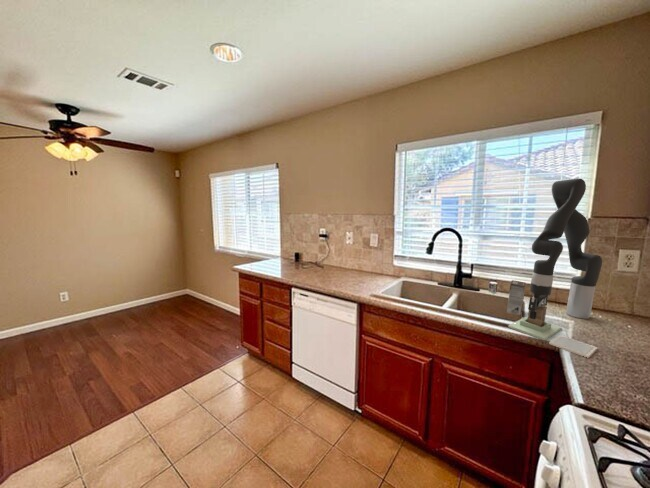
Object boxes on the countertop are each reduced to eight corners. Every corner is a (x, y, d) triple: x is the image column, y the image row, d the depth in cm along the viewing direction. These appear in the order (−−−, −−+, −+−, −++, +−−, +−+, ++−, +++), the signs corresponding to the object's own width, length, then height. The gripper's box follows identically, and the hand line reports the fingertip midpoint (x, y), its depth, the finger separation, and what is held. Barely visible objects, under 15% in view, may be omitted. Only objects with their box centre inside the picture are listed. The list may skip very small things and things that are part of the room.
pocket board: (526, 317, 136) (527, 312, 135) (561, 329, 124) (562, 323, 123) (508, 327, 125) (509, 321, 124) (544, 340, 113) (545, 333, 113)
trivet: (559, 336, 117) (559, 334, 117) (597, 349, 107) (597, 346, 107) (548, 343, 110) (549, 341, 110) (588, 358, 100) (588, 355, 100)
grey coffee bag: (507, 307, 149) (511, 279, 146) (522, 310, 145) (526, 282, 142) (506, 312, 142) (510, 283, 139) (521, 315, 138) (525, 286, 135)
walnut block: (530, 322, 128) (533, 303, 126) (543, 327, 123) (546, 306, 122) (526, 325, 125) (529, 305, 123) (539, 329, 121) (542, 308, 119)
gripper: (537, 279, 128) (532, 310, 130) (525, 283, 120) (520, 316, 123) (557, 283, 122) (551, 316, 124) (545, 287, 114) (539, 323, 116)
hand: (536, 316), depth 123 cm, fingers open, 8 cm apart
